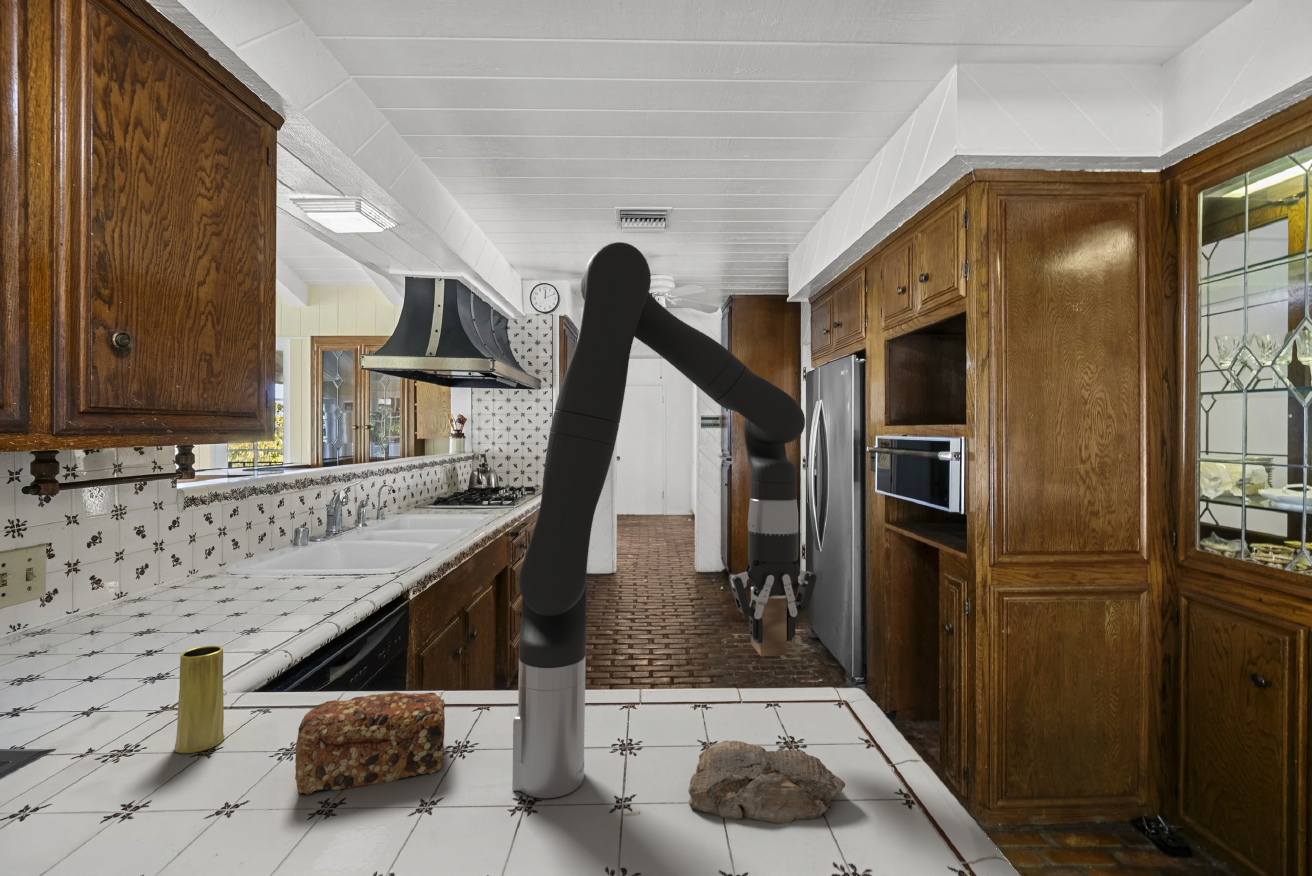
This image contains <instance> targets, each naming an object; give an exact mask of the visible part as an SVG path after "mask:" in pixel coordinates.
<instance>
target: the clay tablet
mask: <svg viewBox="0 0 1312 876" xmlns="http://www.w3.org/2000/svg"><path fill="white" fill-rule="evenodd" d="M698 758H699V759H698V763H697V765H696V770H695V773H693V775H692V777H691V778H690V781H689V787H688V789H687V791H688V794H689V800H688V805H689V807H690V808H691V809H693V810H696V811H698V812H705V813H709V814H712V815H715V816H719V817H720V818H727V819H732V820H737V819H738V820H741V819H742V817H743V816H744V817H747V818H748V819H752V820H755V821H756V820H757V821H762V822H769V823H772V824H785V823H786V824H791V823H792V822H793V821H794V820H805V821H806V820H812V819H816V818H819V817H821V816H822V815H823V814H824V813H825V812H827V811H828V809H829V808H830V804H829V803H830V802H831V800H832V799H833V798H834V797H836V796H838V795H839V794H840V793H841V792H843V790H844V788H845V787H846V783H845V781H844V780H842V779H841V778H840V777H838V776H837V775H835V774H834V773H833V772H832V771H831V770H830V769H828V768H827V767H826V765H824V764H823V762H822V761H821V759H819V758H818V757H816V756H814V755H811V754H810V755H809V754H808V753H805V752H803V751H800V750H797V749H784V750H782V749H781V750H766V748H764V747H762V746H761V745H754V744H752V743H751V744H749V743H746V742H744V741H738V740H723V741H721V742H716V743H714V744H711V745H710V746H709V747H708V748H706V749H705V750H703V751H702V752H701V753H700V754H699V755H698Z"/></svg>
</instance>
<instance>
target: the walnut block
mask: <svg viewBox="0 0 1312 876" xmlns="http://www.w3.org/2000/svg"><path fill="white" fill-rule="evenodd" d="M752 590H753V586H750V594H751V593H752ZM758 596H760V593H758ZM761 618H762V619H763V640H762V643H756V642H755V641H754V640H753V638H751V637H750V644H751V645H752V647H753V648H754V649H755V651H756V652H757V653H758V654H759V656H760V657H774V656H775V657H778V656H787V655H788V654H787V653H788V652H787V647H788V645H787V642H788V641H787V602H786V598H785V595H784V596H778V595H774V596H771V597H768V601H767V604H766V605H765V606H764V609H763V613H762V616H761Z"/></svg>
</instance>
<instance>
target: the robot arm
mask: <svg viewBox="0 0 1312 876" xmlns="http://www.w3.org/2000/svg"><path fill="white" fill-rule="evenodd" d="M651 276H652V275H651V270H650V265H649V263H648V261H647V258H646V257H645V256H644V254H643V253H642V252H641V250H639V249H638V248H637V247H635V246H634V245H633V244H630V243H628V242H623V241H622V242H618V241H617V242H611V243H609V244H606V245H604V246H602V247H601V248H600V249H598V250H597V251H595V253H594V254H592V256H591V257H590V259H589V261H587V264H586V267H585V269H584V272H583V273H582V276H581V282H580V292H581V296H582V299H583V300H584V301H583V302H584V303H583V308H582V309H583V310H582V317H581V325H580V330H579V334H578V339H577V342H576V344H575V348H574V351H573V354H572V356H571V359H570V361H569V364H568V367H567V369H566V372H565V374H564V377H563V381H562V384H561V386H560V389H559V393H558V396H557V400H556V403H555V407H554V411H553V415H552V416H553V417H552V421H551V425H550V429H549V430H550V431H549V433H548V434H549V435H548V442H547V449H546V454H545V462H544V469H543V478H542V490H541V499H540V504H539V505H540V506H539V509H538V514H537V517H536V521H535V525H534V528H533V532H532V535H531V538H530V541H529V544H528V547H527V550H526V553H525V556H524V559H523V561H522V563H521V565H520V568H519V571H518V576H517V578H518V579H517V581H518V582H517V583H518V588H519V589H518V590H519V592H520V595H521V619H520V620H521V621H520V631H519V638H518V695H517V696H518V698H517V701H518V702H517V713H516V715H515V717H514V718H513V723H512V725H513V727H512V729H513V733H512V780H511V781H512V784H511V786H512V788H511V789H512V791H518V792H522V793H523V794H524V795H526V796H530V797H532V798H537V799H554V798H559V797H564V796H566V795H568V794H570V793H572V792H574V791H575V790H577V789H578V788H579V787H580V786H581V785H582V783H583V781H584V777H585V731H586V730H585V728H586V726H585V719H586V714H585V713H586V661H587V660H586V652H587V651H586V650H587V649H586V648H587V646H586V644H587V582H588V581H587V579H588V562H589V561H588V560H589V551H590V542H591V535H592V527H593V521H594V517H595V512H596V509H597V505H598V502H599V500H600V498H601V495H602V494H601V493H602V491H603V489H604V485H605V483H606V479H607V475H608V472H609V470H610V464H611V462H612V457H613V455H614V451H615V447H616V446H615V445H616V441H617V438H618V437H617V436H618V433H619V428H620V422H621V419H622V410H623V405H624V400H625V393H626V387H627V379H628V372H629V371H628V370H629V364H630V363H629V361H630V355H631V350H632V346H633V343H634V339H635V338H636V339H637V340H638V341H640V342H641V343H642V344H644V345H645V346H647V347H649V348H650V349H651V350H652V351H653V352H655V353H656V354H658V355H659V356H660V357H662V358H663V359H664V360H666V362H668V363H669V364H670V365H671V366H673V367H674V368H675V369H676V370H678V371H679V373H681V374H682V375H683V376H685V377H686V378H687V379H688V380H689V381H691V382H692V383H693V384H694V385H695V386H696V387H697V388H698V389H699V390H701V391H702V392H704V394H706V395H707V396H708V397H709V398H711V400H713V401H714V402H715V403H717V404H718V405H719V406H721V408H724V409H726V410H728V411H733V412H736V413H738V414H740V415H741V416H742V417H743V418H744V419H743V421H744V422H743V438H744V444H745V449H746V455H747V460H748V464H749V469H750V479H749V480H750V482H749V506H748V516H747V517H748V518H747V528H748V530H747V531H748V533H747V539H748V540H747V554H748V555H747V558H748V563H747V565H746V568H745V571H742V572H741V573H738V574H735V573H731V574H729V576H728V580H729V584H730V588H731V590H732V593H733V594H732V595H733V598H734V601H735V604H736V608H737V611H739V612H740V613H742V614H743V615H744V616H747V617H748V619H749V623H748V625H749V627H748V628H749V629H748V630H749V631H748V633H749V636H750V639H751V638H753V640H754V641H755V642H756V643H762V640H763V619H762V618H761V616H762V613H763V609H764V606H765V605H766V604H767V601H768V597H771V596H774V595H778V596H784V595H785V598H786V602H787V642H792V641H793V638H794V637H795V636H796V625H797V624H796V622H797V621H796V618H797V616H798V615H799V614H800V613H806V612H808V611H809V606H810V603H811V599H812V596H813V592H814V589H815V585H816V581H817V580H818V579H817V575H816V574H814V572H811V571H808V570H801V569H800V567H799V564H798V559H799V508H798V500H797V499H798V498H797V497H798V483H797V482H798V477H797V468H796V466H795V463H793V462H792V461H790V460H789V458H788V457H787V451H786V448H787V447H786V444H790V443H792V442H794V441H795V440H797V439H798V438H799V437H800V436H801V435H802V434H803V432H804V430H805V426H806V417H805V414H804V411H803V409H802V407H801V406H800V404H799V403H798V401H796V400H795V399H794V398H793V397H792V396H791V395H790V394H788V393H787V392H786V391H784V390H782V389H781V388H779V387H778V386H776V385H775V384H773V383H771V382H770V381H768V380H766V379H764V378H763V377H761V376H759V375H758V374H756V373H754V372H753V371H752V370H751V369H750V368H749V367H748V366H747V365H745V364H744V363H743V362H742V361H741V360H740V359H738V358H737V357H736V356H735V355H734V354H733V353H732V352H731V351H730V350H728V349H727V348H726V347H725V346H723V345H722V344H721V343H719V342H718V341H716V340H715V339H714V338H712V337H710V336H709V335H707V334H706V333H704V332H702V331H700V330H699V329H696V328H694V327H693V326H691V325H689V324H688V323H686V322H684V321H683V320H681V319H680V318H679V317H677V316H676V315H674V314H672V313H671V312H669V310H668V309H666V308H665V307H664V306H663V305H662V304H661V303H659V301H658V300H656V298H655V297H654V296H653V295H652V294H651V293H650V290H651V283H652V279H651V278H652V277H651ZM748 580H749V582H750V583H751V584H752V587H753V590H752V593H751V592H750V602H749V600H748V596H747V593H746V589H745V588H747V585H748V584H747V581H748ZM796 581H798V583H799V584H798V587H797V591H796V595H795V594H794V590H793V586H794V584H795V583H796ZM758 593H760V596H758Z"/></svg>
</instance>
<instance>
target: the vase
mask: <svg viewBox="0 0 1312 876" xmlns="http://www.w3.org/2000/svg"><path fill="white" fill-rule="evenodd" d="M179 658H180V659H179V660H180V662H179V690H178V702H177V703H178V704H177V706H178V707H177V722H176V724H177V727H176V736H175V737H176V738H175V744H174V751H175V752H176V753H177V754H178V753H179V754H186V755H187V754H195V753H201V752H205V751H207V750H209V749H210V750H211V749H212V748H214V746H215V747H216V746H218V745H220V744H221V743H222V742H223V741H224V739H225V734H224V720H225V719H224V717H225V716H224V715H225V714H224V713H225V712H224V711H225V710H224V708H225V707H224V703H225V702H224V648H223V647H222V646H221V645H205V646H199V647H194V648H190V649H188V650H187V649H186V650H185V651H183V652H182V653H181V654H180V657H179Z"/></svg>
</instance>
